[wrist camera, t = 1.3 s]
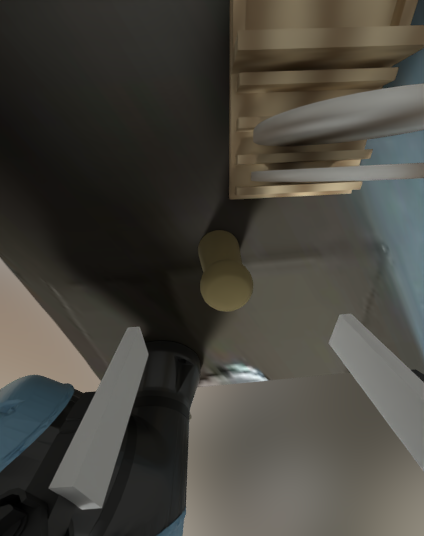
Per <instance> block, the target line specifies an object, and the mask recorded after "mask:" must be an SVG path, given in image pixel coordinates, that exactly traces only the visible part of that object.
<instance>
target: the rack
mask: <svg viewBox="0 0 424 536" xmlns="http://www.w3.org/2000/svg"><path fill="white" fill-rule="evenodd" d="M417 2H418V0H230V104H229V199H230V200H231V199H250V198H270V197H290V196H310V195H330V194H350V193H351V191H352V190H358V189H360V188H361V185H362V182H361V181H364V180H392V179H414V178H424V163H410V164H389V165H369V166H359V165H360V161H361V159H368V158H370V157H371V153H372V150H373V149H368V150H364V148H365V145H366V141H367V139H374V138H380V137H387V136H393V135H399V134H404V133H410V132H415V131H420V130H424V84H415V85H406V86H398V87H391V88H384V89H382V88H383V86H384V85H386V84H388V83H390V82H392V81H394V80H395V78H396V75H397V72H398V68H399V67H394V68H390V67H392V66H393V65H395V64H397V63H399V62H400V61H402V60H404V59H406V58H407V57H409V56H411V55H413V54H414V53H416V52H418V51H419V50H421V49H423V48H424V25H412V26H410V24H411V21H412V18H413V15H414V12H415V9H416V5H417Z"/></svg>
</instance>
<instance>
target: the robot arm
mask: <svg viewBox="0 0 424 536" xmlns="http://www.w3.org/2000/svg"><path fill="white" fill-rule="evenodd" d="M329 344H330V346H331V347H332V348H333V350H334V351H335V352H336V354H337V355H338V356H339V358H340V359H341V361H342V362H343V363H344V365H345V366H346V367H347V369H348V370H349V371H350V373H351V374H352V375H353V377H354V378H355V379H356V381H357V382H358V384H359V385H360V386H361V388H362V389H363V390H364V391H365V393H366V394H367V396H368V397H369V398H370V400H371V401H372V402H373V404H374V405H375V406H376V408H377V409H378V411H379V412H380V413H381V415H382V416H383V417H384V419H385V420H386V421H387V423H388V424H389V425H390V427H391V428H392V429H393V431H394V432H395V433H396V435H397V436H398V437H399V439H400V440H401V442H402V443H403V444H404V445H405V447H406V448H407V450H408V451H409V452H410V454H411V455H412V456H413V458H414V459H415V461H416V462H417V463H418V465H419V466H420V467H421V469H422V470H423V471H424V375H423V374H422V373H420V372H419V371H417V370H410V369H409V368H408V367H407V366H406V365H405V364H404V363H403V362H402V361H401V360H399V359H398V358H397V357H396V356H395V355H394V354H393V353H392V352H391V351H390V350H389V349H388V348H387V347H386V346H385V345H384V344H383V343H382V342H380V341H379V340H378V339H377V338H376V337H375V336H374V335H373V334H372V333H371V332H370V331H369V330H368V329H367V328H366V327H365V326H364V325H362V324H361V323H360V322H359V321H358V320H357V319H356V318H355V317H354V316H353V315H352V314H341V315H339V318H338V320H337V323H336V326H335V328H334V331H333V333H332V336H331V338H330V341H329ZM199 379H200V360H199V358H198V356H197V355H196V353H195V352H194V351H192V350H191V349H190V348H188V347H186V346H184V345H182V344H179V343H176V342H171V341H152V342H148V343H145V342H144V339H143V335H142V332H141V329H140V327H128V328H127V330H126V332H125V334H124V336H123V338H122V340H121V342H120V344H119V346H118V348H117V350H116V352H115V354H114V356H113V358H112V360H111V363H110V365H109V367H108V369H107V371H106V373H105V375H104V377H103V379H102V381H101V383H100V385H99V387H98V389H97V391H96V392H85V393H82V392H80V391H78V390H76V389H74V387H73V386H72V385H71V384H68V383H67V384H62V383H60V382H57V381H54V380H52V379H49V378H46V377H44V376H40V375H29V376H25V377H22V378H19V379H17V380H15V381H13V382H11V383H10V384H8V385H6V386H5V387H3V388H2V389H0V536H182V535H183V524H184V518H185V515H186V486H187V460H188V437H189V436H188V435H189V414H190V407H191V404H192V401H193V398H194V395H195V391H196V389H197V386H198V382H199Z"/></svg>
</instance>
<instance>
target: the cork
mask: <svg viewBox="0 0 424 536" xmlns="http://www.w3.org/2000/svg"><path fill="white" fill-rule="evenodd" d="M198 255H199V259H200V262H201V266H202V269H203V275H202V278H201V281H200V291H201V294H202V296H203V298H204V300H205V302H206V303H207V304H208V305H209V306H211V307H212V308H214V309H216V310H219V311H233V310H236V309H239V308H240V307H242V306H244V305H245V304H246V303H247V301H248V300H249V299H250V297H251V294H252V292H253V280H252V277H251V274H250V272H249V271H248V270H247V269H246V267H245V266H243V265H242V261H241V255H240V248H239V244H238V241H237V239H236V238H235V237H234V235H232V234H231V233H229V232H227V231H223V230H215V231H212V232H209V233H208V234H206V235H205V236H204V237H203V238H202V239H201V241H200V242H199V246H198Z"/></svg>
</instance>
